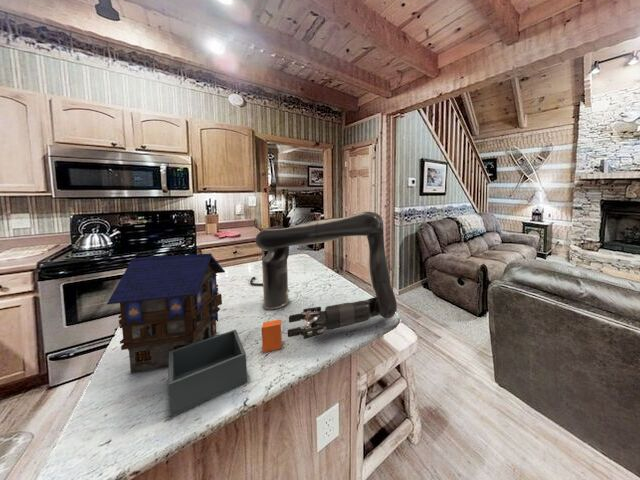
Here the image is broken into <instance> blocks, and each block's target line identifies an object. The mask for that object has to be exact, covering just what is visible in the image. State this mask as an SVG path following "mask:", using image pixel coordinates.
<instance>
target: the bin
mask: <svg viewBox="0 0 640 480" xmlns="http://www.w3.org/2000/svg"><path fill="white" fill-rule="evenodd" d="M247 366H248V365H247V352H246V351H245V348H244V346H243V344H242V341H241V339H240V335H239V334H238V331H237V329H232V330H230V331H226V332H223V333H221V334H218V335H217V334H216V335H215V336H214V337H211V338H208V339H205V340H203V341H200V342H197V343H194V344H191V345H188V346H185V347H182V348H179V349H176V350H173V351H170V352H169V367H168V369H167V370H168V372H167V374H168V375H167V389H168V390H167V391H168V403H169V415H170V418H173V417H175V416H178V415H179V414H181V413H184V412H186V411H188V410H190V409H192V408H194V407H196V406H199V405H201V404H203V403H205V402H208V401H209V400H211V399H213V398H216V397H218V396H220V395H222V394H224V393H227V392H230V391H231V390H233V389H235V388H237V387H239V386H242V385H243V384H246V383H248V369H247Z"/></svg>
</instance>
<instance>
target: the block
mask: <svg viewBox="0 0 640 480" xmlns="http://www.w3.org/2000/svg"><path fill="white" fill-rule="evenodd" d="M282 337H283V335H282V319H281V318H279V319H275V320H270V321H269V320H268V321H264V322H263V323H262V326H261V338H262V339H261V341H262V353H263V354H264V353H267V352H272V351H276V350H281V349H282V344H283V338H282Z"/></svg>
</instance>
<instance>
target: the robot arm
mask: <svg viewBox="0 0 640 480" xmlns="http://www.w3.org/2000/svg"><path fill="white" fill-rule="evenodd" d="M346 237H366V239H367V243H368V248H369V250H368V251H369V260H368V271H369V277H370V282H371V287H372V290H373V292H374V294H375V296H374V297H371V298H368V299H365V300H359V301H358V300H357V301H353V302H344V303H338V304H332V305H327V306H325V308H324V310H322V306H314V307H309V308H303V310H302V311H301V312H300V313H296V314H290V315H289V316H288V323H296V322H300V321H305V322H306V324H304V325H303V326H297V327H293V328H288V330H287V334H286V335H287V338H293V337H298V336H301V337H303V339H304V340H307V339H310V338H314V337H318V336H322V335H324V334H325V329H326V331H331V330H335V329H341V328H345V327H349V326H352V325H354V324H359V323H360V324H361V323H364V322H367V321H369V320H370V318H374V317H379V316H380V317H381V318H383V319H386V320H387V319H391V318H393V317H394V316H395V315H396V313H397V310H398V305H397V299H396V295H395V293H394V290H393V287H392V285H391V278H390V271H389V268H388V262H387V256H386V249H385V237H384V220H383V217H382V216H381V215H380V214H379V213H377V212H374V211H363V212H360V213H356V214H352V215H349V216H344V217H334V218H333V217H331V218H329V217H328V218H322V219H321V218H320V219H314V220H309V221H306V222H302V223H299V224H295V225H292V226H289V227H284V226H282V225H273V226H271V227H267V228H264V229H261V230H260V231H259V232H258V233H257V234H256V237H255V241H254V242H255V245H256V246H257V248H258V249H260V250H262V251H264V252H267V254H266V255H265V256H264V257H263V259H262V260H261V269H262V273H261V274H262V283H261V282H260V283H258V282H253V281H254V280H256V277H255V276H252V277H251V278H250V281H249V283H250V284H251V285H252V286H262V291H263V293H262V295H263V308H264V309H265V310H277V309H281V308H283V307H285V306H287V305H288V304H289V302H290V300H289V299H290V298H289V292H290V288H289V278H288V277H289V275H288V258H289V256H290V247H291V246H293V247H294V246H306V245H315V244H316V245H317V244H321V243H329V242H332V241H336V240H338V239H339V240H340V239H341V238H346ZM395 312H396V313H395Z"/></svg>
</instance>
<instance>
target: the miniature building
mask: <svg viewBox="0 0 640 480" xmlns="http://www.w3.org/2000/svg"><path fill="white" fill-rule="evenodd" d="M126 267H127V268H126V269H125V271H124V273H123V275H122V276H121V278H120V280H119V281H118V283H117V286H116V287H115V289H114V290H113V292H112V294H111V296H110V298H109V300H108V301H107V302H106V305H113V304H114V305H115V304H119V307H120V308H119V310H120V314H119V315H118V325H119V329H121V331H122V339H121V340H120V341H119V345H120V344H121V346H120V350H121V351H125V350H128V355H129V356H128V357H129V366H130V373H131V374H133V373H139V372H145V371H151V370H157V369H163V368H169V352H170V351H173V350H176V349H179V348H182V347H185V346H188V345H191V344H194V343H197V342H200V341H203V340H205V339H208V338H211V337H214V336H217V334H218V332H217V329H218V328H217V322H219V312H220V311H221V307H219V306H221V305H223V297H222V293H219V284H217V276H218V274H223V273H225V272H226V270H224V268H223V267H222V266H221V265H220V263H219V262H218V261H217V260H216V258H215V257H214V255H213V254H212V253H210V252H209V253H196V254H180V255H179V254H178V255H164V256H150V257H149V256H148V257H134V258H133V257H132V258H131V259H130V262H129V264H128V266H126Z"/></svg>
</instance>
